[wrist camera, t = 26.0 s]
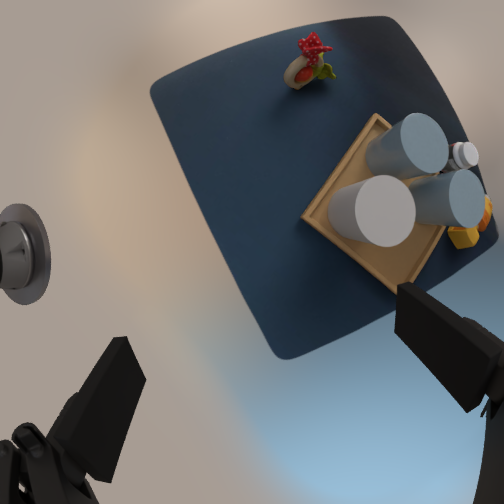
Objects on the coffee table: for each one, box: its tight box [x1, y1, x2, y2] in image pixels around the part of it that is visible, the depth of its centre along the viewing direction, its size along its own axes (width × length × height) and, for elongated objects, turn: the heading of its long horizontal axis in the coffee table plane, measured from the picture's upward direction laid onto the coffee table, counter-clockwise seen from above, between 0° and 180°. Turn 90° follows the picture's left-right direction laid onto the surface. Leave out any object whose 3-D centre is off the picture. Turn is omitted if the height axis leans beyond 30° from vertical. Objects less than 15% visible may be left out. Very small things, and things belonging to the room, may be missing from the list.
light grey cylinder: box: [328, 175, 416, 247], centre depth 34 cm, size 8×8×12 cm
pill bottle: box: [441, 142, 479, 173], centre depth 35 cm, size 5×5×8 cm
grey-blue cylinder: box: [408, 169, 485, 228], centre depth 33 cm, size 8×8×12 cm
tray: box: [300, 113, 446, 295], centre depth 39 cm, size 22×22×2 cm
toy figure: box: [448, 194, 492, 249], centre depth 37 cm, size 5×6×12 cm
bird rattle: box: [284, 32, 336, 90], centre depth 33 cm, size 6×11×9 cm
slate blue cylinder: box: [365, 113, 449, 181], centre depth 33 cm, size 8×8×12 cm
